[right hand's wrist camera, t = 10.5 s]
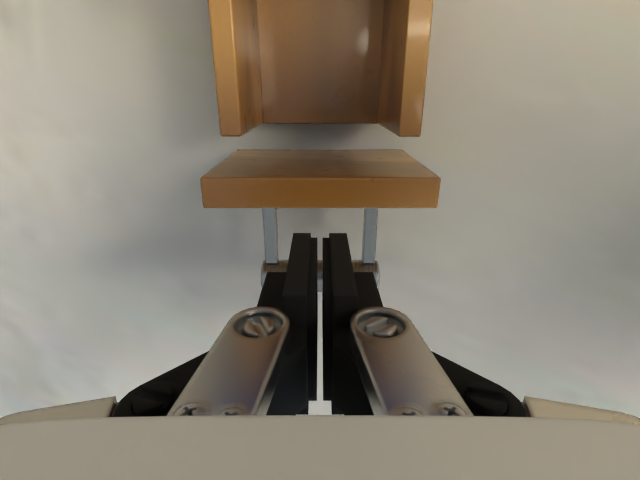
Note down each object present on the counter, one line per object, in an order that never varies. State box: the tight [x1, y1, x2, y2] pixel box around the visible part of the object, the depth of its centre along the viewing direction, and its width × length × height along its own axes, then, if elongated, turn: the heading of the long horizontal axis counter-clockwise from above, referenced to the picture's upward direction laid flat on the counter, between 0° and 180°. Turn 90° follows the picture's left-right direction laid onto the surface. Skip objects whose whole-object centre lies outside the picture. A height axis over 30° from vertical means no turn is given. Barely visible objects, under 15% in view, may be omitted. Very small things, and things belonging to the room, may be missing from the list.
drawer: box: [200, 0, 440, 292], centre depth 15 cm, size 26×9×7 cm, turn 0°
